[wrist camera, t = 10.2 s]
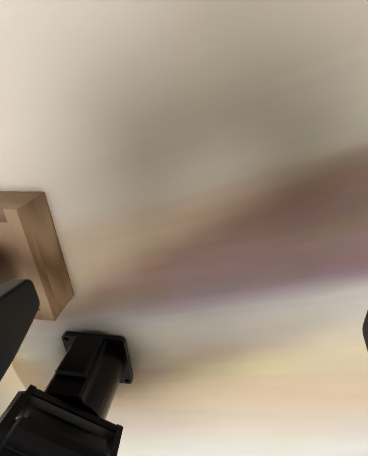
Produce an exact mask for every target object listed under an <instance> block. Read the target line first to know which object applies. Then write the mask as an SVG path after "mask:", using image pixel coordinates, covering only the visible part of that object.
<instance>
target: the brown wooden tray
mask: <svg viewBox="0 0 368 456" xmlns="http://www.w3.org/2000/svg"><path fill="white" fill-rule="evenodd" d="M16 278H25V279H30V280H31V281H32V282H33V283H34V286H35V289H36V292H37V294H38V297H39V300H40V306H39V309H38V312H37V314H36V316H35V318H34V319H41V320H53V321H55V320H56V318H57V317H58V316H59V314H60V313H61V312H62V310H63V309H64V307H65V306H66V305H67V303H68V302H69V301H70V299H71V298H72V296H73V295H74V294H73V290H72V287H71V284H70V280H69V277H68V273H67V270H66V266H65V263H64V259H63V256H62V253H61V249H60V246H59V242H58V239H57V235H56V232H55V229H54V225H53V222H52V218H51V215H50V211H49V208H48V204H47V201H46V198H45V194H44V192H0V285H2V284H4V283H6V282H9V281H11V280H13V279H16Z"/></svg>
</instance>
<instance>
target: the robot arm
mask: <svg viewBox="0 0 368 456" xmlns="http://www.w3.org/2000/svg"><path fill="white" fill-rule="evenodd" d="M39 306H40V300H39V297H38V294H37V292H36V289H35V286H34V283H33V282H32V281H31V280H30V279H25V278H16V279H13V280H11V281H9V282H6V283H4V284H2V285H0V381H1V379H2V378H3V376H4V374H5V373H6V371H7V369H8V368H9V366H10V364H11V363H12V361H13V359H14V358H15V356H16V354H17V352H18V350H19V348H20V346H21V344H22V342H23V340H24V338H25V336H26V334H27V332H28V330H29V328H30V326H31V324H32V322H33V320H34V318H35V316H36V314H37V312H38V309H39ZM363 336H364V340H365V343H366V347H367V351H368V311H367V314H366V317H365V320H364V323H363ZM62 340H63V343H64V346H65V349H66V354H65V356H64V357H63V359H62V361H61V362H60V364H59V366H58V367H57V369H56V371H55V374H54V376H53V378H52V379H51V381H50V383H49V384H48V386H47V388H46V389H45V391H41V390H39V389H37V388H36V386H34V385H30V386H29V387H28V389H27V390H26V391H21V392H20V391H19V392H18V393H17V394H16V396H15V397H14V399H13V400H12V402H11V403H10V405H9V406H8V408H7V409H6V410H5V412H4V413H3V414H2V415H1V417H0V456H117V453H118V448H119V444H120V439H121V435H122V430H123V426H121V425H118V424H117V425H115V424H113V423H111V422H109V421H107V420H105V419H106V416H107V414H108V411H109V408H110V406H111V403H112V400H113V398H114V395H115V392H116V390H117V387H118V384H119V383H126V384H130V383H132V380H133V375H132V370H131V365H130V360H129V356H128V351H127V346H126V341H125V339H124V338H122V337H115V336H104V335H93V334H83V333H72V332H65V333H64V334H63V336H62Z"/></svg>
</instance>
